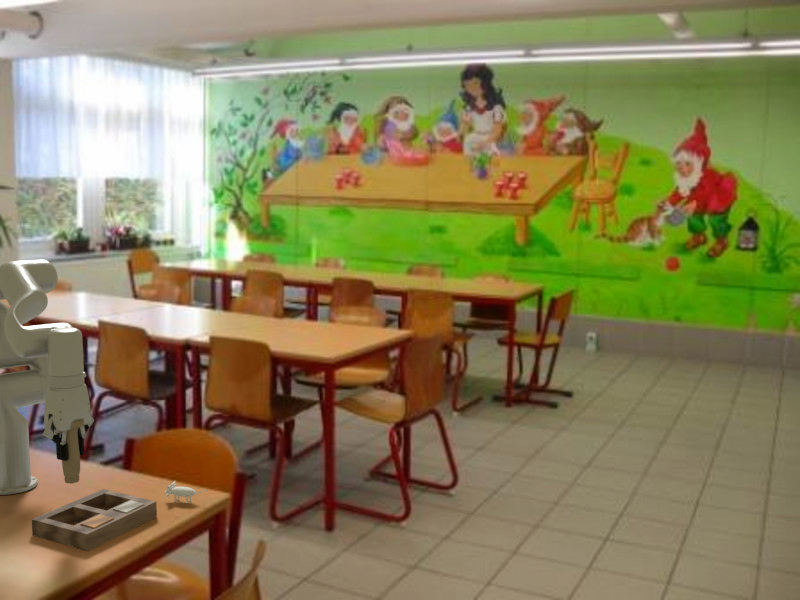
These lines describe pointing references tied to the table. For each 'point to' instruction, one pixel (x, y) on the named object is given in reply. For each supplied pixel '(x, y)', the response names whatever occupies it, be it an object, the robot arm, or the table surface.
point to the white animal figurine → (180, 491)
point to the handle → (72, 454)
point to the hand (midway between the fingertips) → (70, 456)
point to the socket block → (94, 519)
